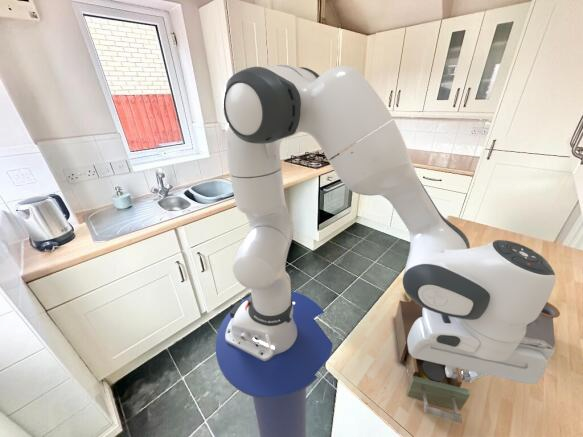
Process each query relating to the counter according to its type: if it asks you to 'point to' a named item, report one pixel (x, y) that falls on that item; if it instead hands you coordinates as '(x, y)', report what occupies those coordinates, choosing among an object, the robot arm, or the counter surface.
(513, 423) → the counter surface
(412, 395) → the drawer
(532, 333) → the coffee pot
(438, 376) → the jar
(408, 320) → the cabinet
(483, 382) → the counter surface
